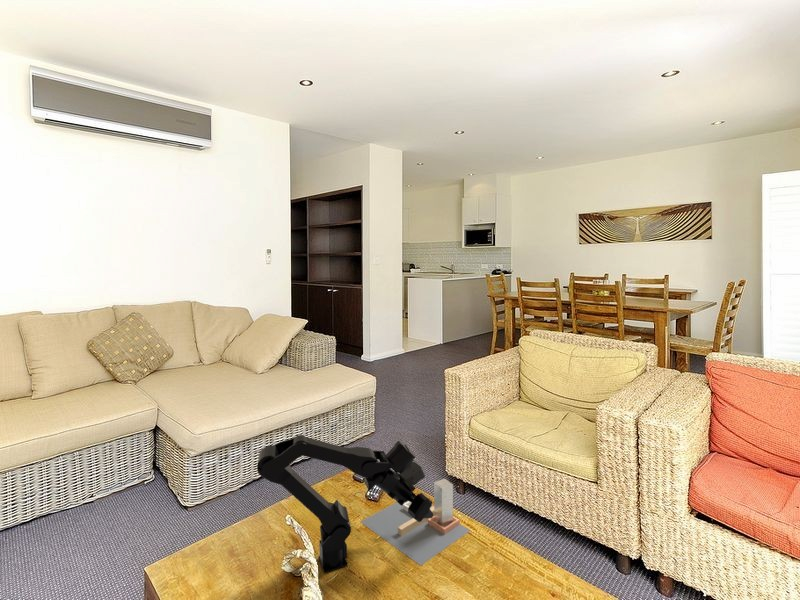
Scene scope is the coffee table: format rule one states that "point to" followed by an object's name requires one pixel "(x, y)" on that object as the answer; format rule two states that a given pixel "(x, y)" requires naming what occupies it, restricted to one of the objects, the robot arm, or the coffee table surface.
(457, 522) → the socket
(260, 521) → the coffee table surface
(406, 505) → the socket
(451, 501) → the block
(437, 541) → the door board
